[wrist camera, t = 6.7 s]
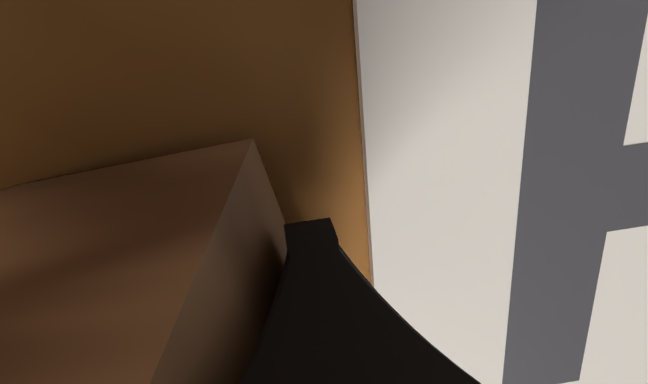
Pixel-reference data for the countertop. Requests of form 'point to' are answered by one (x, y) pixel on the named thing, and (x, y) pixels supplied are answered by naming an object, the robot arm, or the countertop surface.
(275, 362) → the robot arm
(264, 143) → the countertop surface
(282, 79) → the countertop surface
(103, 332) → the walnut block
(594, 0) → the letter mat
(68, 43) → the countertop surface
